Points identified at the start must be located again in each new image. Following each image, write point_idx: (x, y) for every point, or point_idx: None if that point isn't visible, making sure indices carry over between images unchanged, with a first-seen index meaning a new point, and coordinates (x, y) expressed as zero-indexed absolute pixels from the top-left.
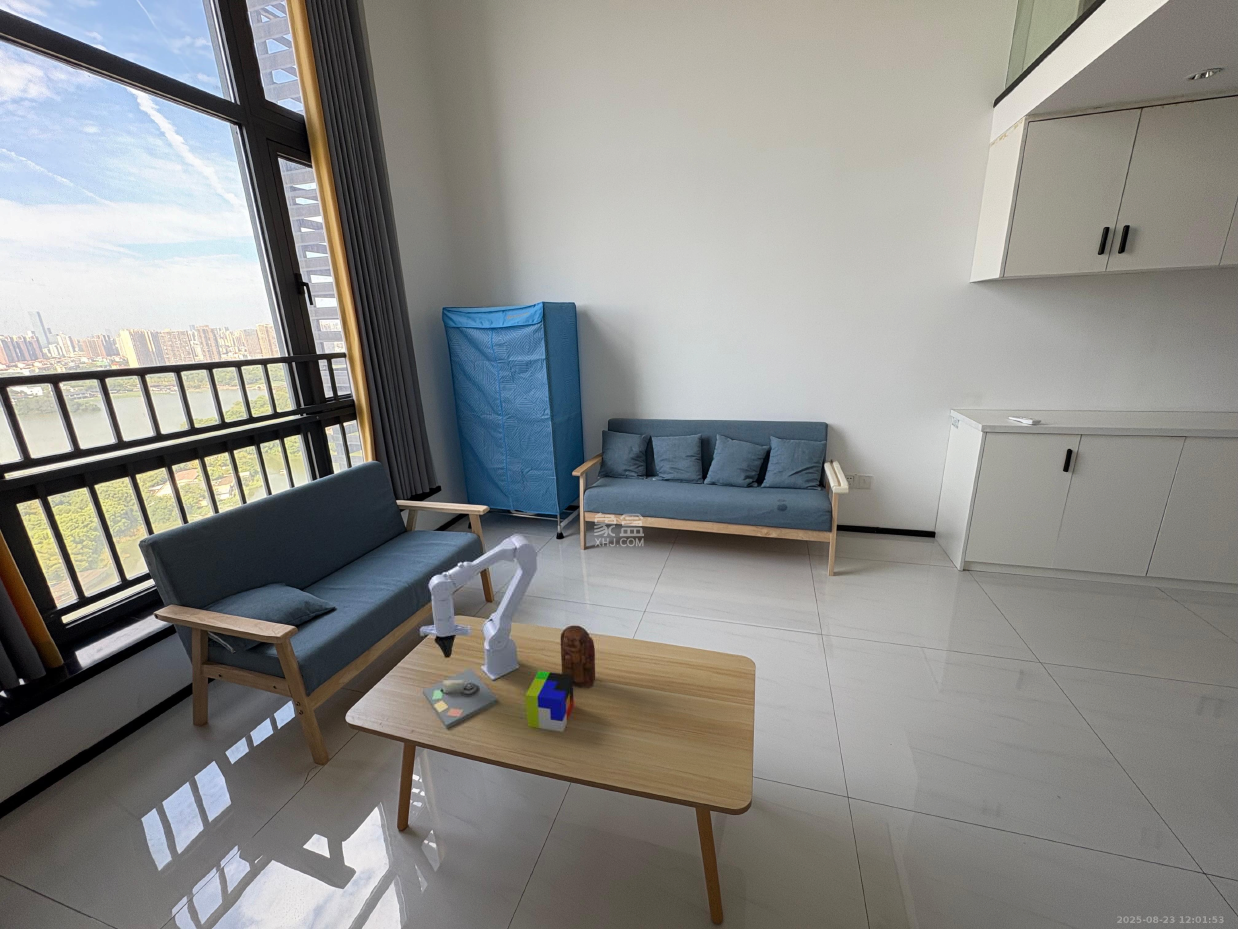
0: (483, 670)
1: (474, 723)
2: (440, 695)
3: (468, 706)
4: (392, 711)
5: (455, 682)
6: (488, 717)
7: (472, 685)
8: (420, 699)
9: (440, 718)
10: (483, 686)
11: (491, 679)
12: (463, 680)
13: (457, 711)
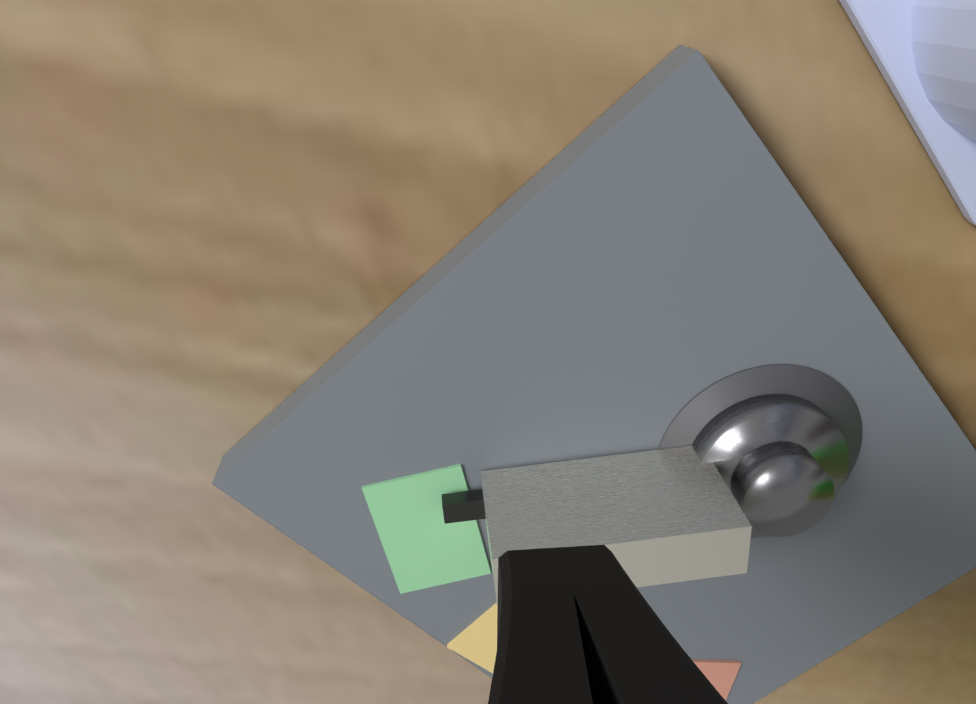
0: (863, 37)
1: (820, 690)
2: (462, 544)
3: (775, 627)
4: (68, 661)
5: (653, 577)
6: (922, 639)
7: (826, 503)
8: (245, 525)
9: None
10: (899, 390)
11: (967, 220)
12: (748, 541)
13: None
